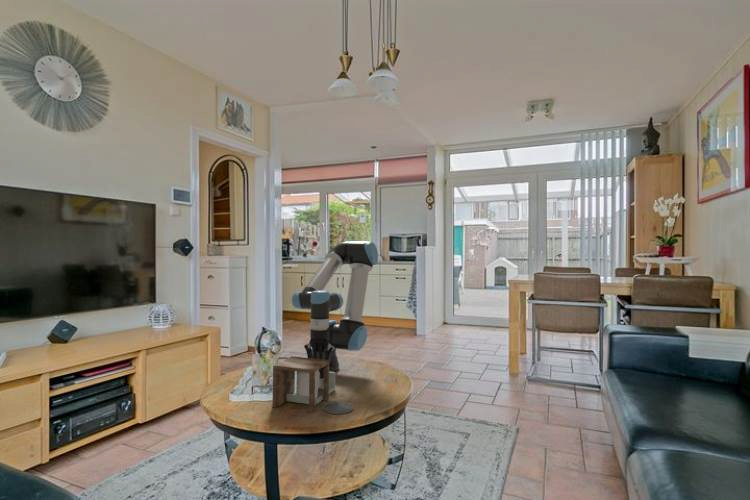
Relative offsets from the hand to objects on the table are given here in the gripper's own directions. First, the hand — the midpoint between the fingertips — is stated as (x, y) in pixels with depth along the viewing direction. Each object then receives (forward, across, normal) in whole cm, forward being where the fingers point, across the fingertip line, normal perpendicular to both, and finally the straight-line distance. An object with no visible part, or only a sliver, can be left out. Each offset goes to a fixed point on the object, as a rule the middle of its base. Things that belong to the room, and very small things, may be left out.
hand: (318, 386), depth 169 cm
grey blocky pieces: (+1, 0, -6) cm, 6 cm away
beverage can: (+2, 0, -11) cm, 11 cm away
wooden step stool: (+2, 0, -14) cm, 15 cm away
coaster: (+2, +15, -16) cm, 22 cm away
